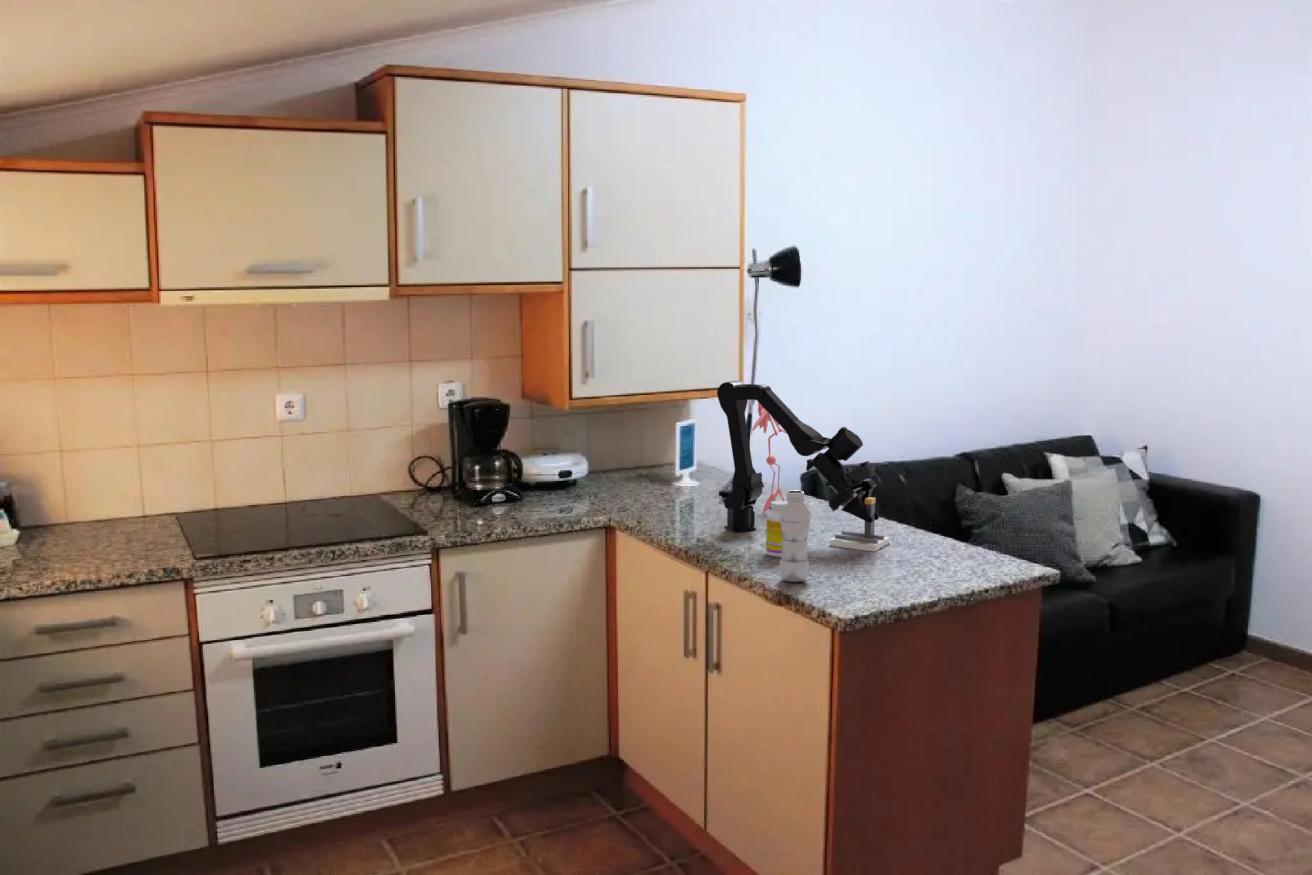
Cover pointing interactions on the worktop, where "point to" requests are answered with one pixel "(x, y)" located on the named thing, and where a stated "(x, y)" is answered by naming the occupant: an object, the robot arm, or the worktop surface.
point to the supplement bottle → (774, 529)
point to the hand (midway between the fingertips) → (874, 520)
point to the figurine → (770, 460)
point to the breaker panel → (858, 541)
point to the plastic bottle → (794, 538)
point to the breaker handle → (871, 509)
